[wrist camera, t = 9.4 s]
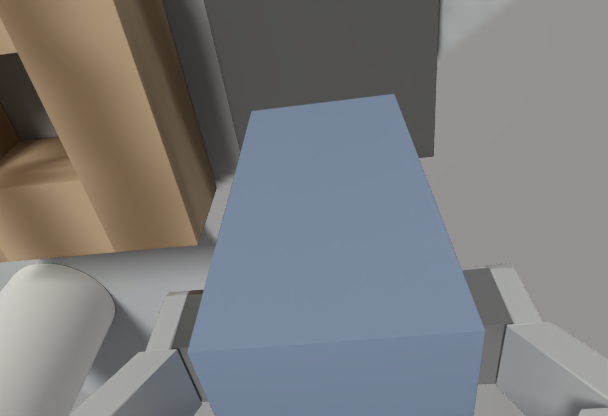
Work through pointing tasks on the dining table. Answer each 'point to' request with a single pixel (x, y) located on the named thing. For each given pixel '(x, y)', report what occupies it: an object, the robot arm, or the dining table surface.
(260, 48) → the mat
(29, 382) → the cylindrical container
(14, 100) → the dining table surface
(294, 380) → the blue block
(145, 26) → the pocket block
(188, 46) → the dining table surface
